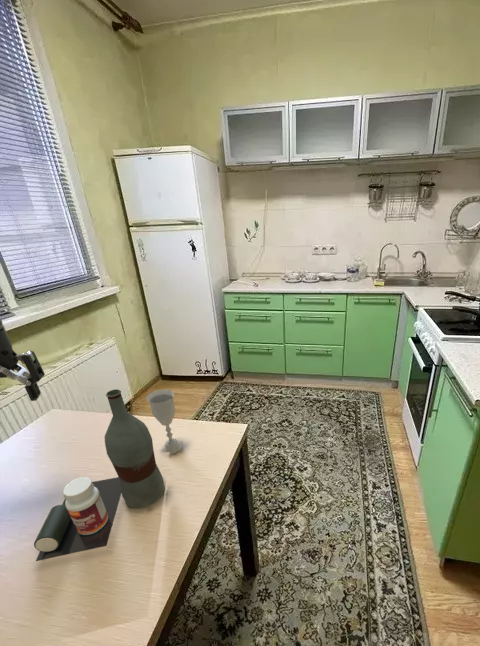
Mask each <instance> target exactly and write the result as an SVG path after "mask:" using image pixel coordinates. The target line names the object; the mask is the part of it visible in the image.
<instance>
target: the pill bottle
mask: <svg viewBox="0 0 480 646" xmlns="http://www.w3.org/2000/svg"><path fill="white" fill-rule="evenodd" d="M92 482H93V481H92V479H91V478H90V477H87V476H80V477H77V478H74V479H72V480H70V481H69V482H68V483H67V484H66V485H65V486H64V488H63V490H62V494H63V496H64V500H65V499H66V502H65V506H66V508H67V510H68V512H69V515H70V517H71V519H72V521H73V523H74V525H75V527H76V529H77V531H78V533H79V534H82V535H90V534H93V533H95V532H97V531H99V530H100V529H101V528H102V527H103V526H104V525H105V524H106V522H107V520H108V514H107V511H106V508H105V506H104V503H103V501H102V498H101V496H100V493H99V491H98V489H97V488H96V487H94V485H93V483H92Z"/></svg>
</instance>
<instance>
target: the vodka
mask: <svg viewBox="0 0 480 646" xmlns="http://www.w3.org/2000/svg"><path fill="white" fill-rule="evenodd" d="M122 395H123V394H122V390H120V389H111V390H109V391H107V392H106V394H105V397H107V400H108V404H109V407H110V411H111V414H112V417H111V420H110V422H109V424H108V427H107V429H106V432H105V434H104V446H105V452H106V455H107V457H108V459H109V461H110V462H111V464H112V466H113V469H114V470H115V472H116V475H117V477H119V480H120V487H121V497H122V498H123V500H124V502H125V503H126V505H127V506H128V507H130V508H132V509H143V508H146V507H149V506H151V505H153V504H154V503H156V502H157V501H158V500H159V499H160V498H161V497H162V496H163V494H164V492H165V483H164V477H163V474H162V473H161V471H160V469H159V466H158V465H157V462H156V457H155V456H156V455H155V451H154V444H153V443H154V441H153V437H152V435H151V432H150V431H149V428H148V426H147V425H146V423H145V422H143V421H142V420H141V419H140V418H137V417H136V416H135V415H133V414H131V413H129V412H128V411H127V408H126V405H125V401H124V398H123V396H122Z"/></svg>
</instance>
